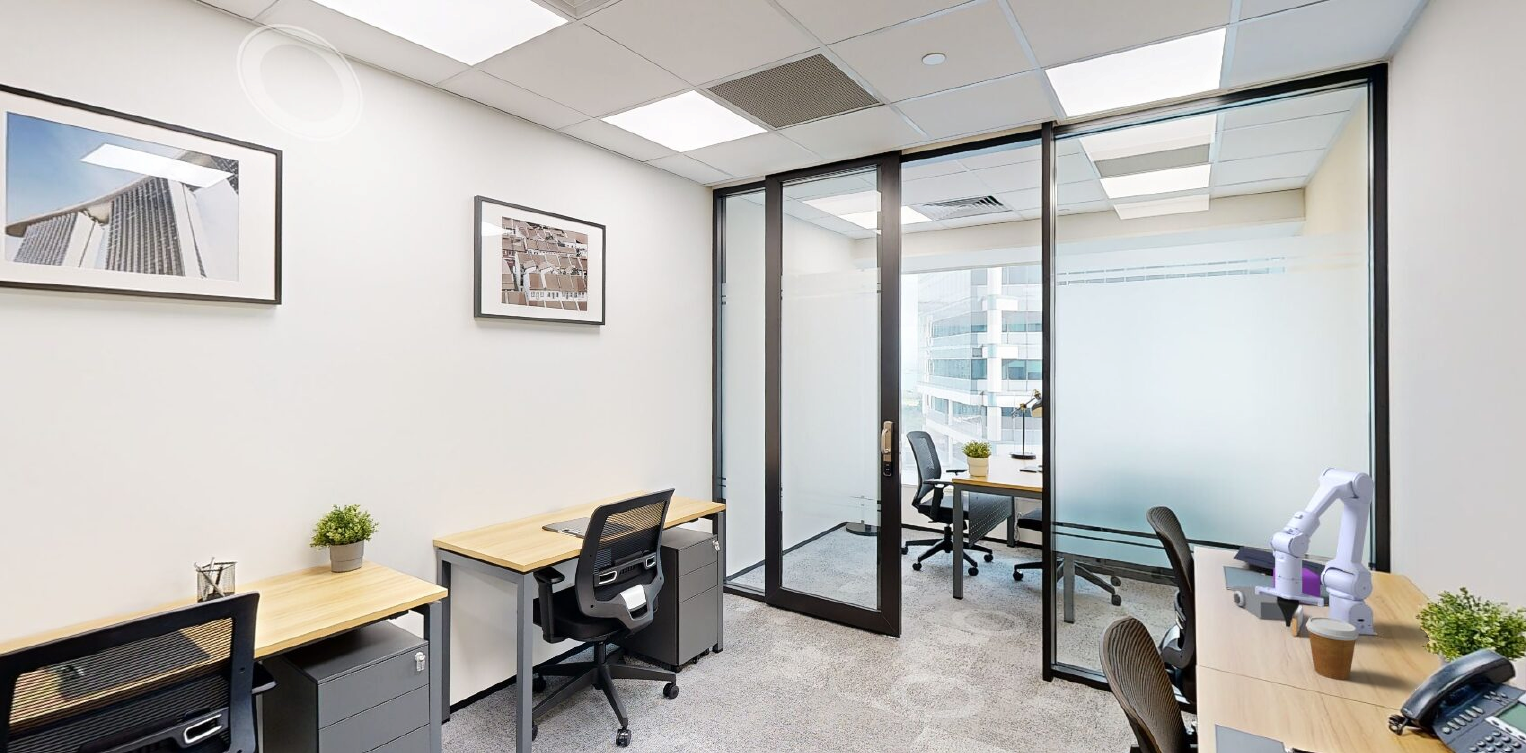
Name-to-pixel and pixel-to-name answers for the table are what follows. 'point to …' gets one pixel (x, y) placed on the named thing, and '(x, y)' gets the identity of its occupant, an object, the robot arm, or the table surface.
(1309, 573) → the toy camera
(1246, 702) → the table surface
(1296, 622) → the side door
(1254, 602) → the grey box
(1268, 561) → the dark grey slab
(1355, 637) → the disposable coffee cup
